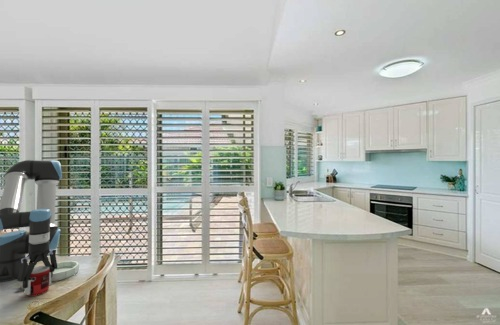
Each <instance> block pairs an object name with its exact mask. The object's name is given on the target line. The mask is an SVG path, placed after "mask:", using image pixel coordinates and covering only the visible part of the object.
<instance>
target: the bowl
mask: <svg viewBox="0 0 500 325" xmlns="http://www.w3.org/2000/svg"><path fill="white" fill-rule="evenodd" d="M79 268H80V265H79V262H78V261H75V260H63V261H57V269H54V272H53V277H52V278H51V283H52V282H57V281H61V280H65V279H68V278H71V277H73V276H75V275H76V274H77V273H78V272H79V270H80V269H79Z"/></svg>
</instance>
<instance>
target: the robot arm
mask: <svg viewBox="0 0 500 325" xmlns="http://www.w3.org/2000/svg"><path fill="white" fill-rule="evenodd" d="M62 179H63V172H62V165H61V162H60V161H58V160H47V159H46V160H37V159H36V160H32V159H26V160H22V161H19V162H17V163H15V164H13V165H12V166H10V168H8V169H7V170H6V172H5V175H4V177H3V180H4V181H5V184H4V186H3V191H2V195H1V198H0V231H3V230H9V229H17V228H20V229H21V228H29V232H27V230H26V229H22V230H15V231H10V232H5V233H3V234H1V235H0V282H7V281H12V280H16V281H18V282H22V283H23V288H25V289H24V295H27V296H28V295H29V294H30V285H31V280H29V278H30V275H31V273H32V271H33V269H34V268H35V267H36V265H37V263H39V262H42V263H43V266H48V267H49V268H50V269H49V270H50V271H49V287H50V286H52V282H51V278H52V277H53V272H54V269H57V262H58V261H57V256H56V254H57V248H58V246H59V242H60V235H61V231H62V230H61V228H59V226H58V225H57V224H56V202H57V201H56V199H57V198H56V196H57V194H56V193H57V184H59V183H60V180H62ZM29 180H34V184H36V185H37V191H36V193H37V194H36V209H33V210H31V211H21V212H20V210H21V204H22V200H23V196H24V195H23V194H24V188H25V184H26V183H27V182H28V181H29ZM26 255H27V256H26ZM48 256H49V258H48Z"/></svg>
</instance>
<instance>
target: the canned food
mask: <svg viewBox="0 0 500 325" xmlns="http://www.w3.org/2000/svg"><path fill="white" fill-rule="evenodd" d="M49 269H50V268H49V267H48V266H45V265H40V266H35V267H34V269H33V271H32V273H31V275H30V278H29V280H31V285H30V294H29V295H27V296H29V297H34V296H40V295H43V294H45V293H46V292H48V290H49V289H50V286H49V271H50V270H49Z"/></svg>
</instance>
